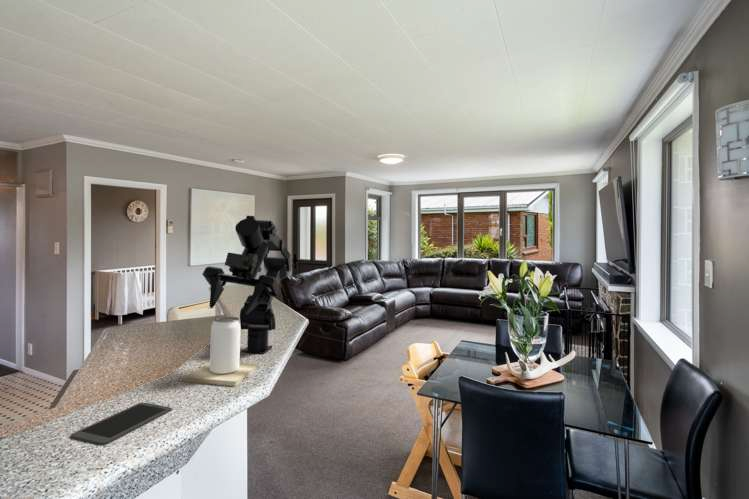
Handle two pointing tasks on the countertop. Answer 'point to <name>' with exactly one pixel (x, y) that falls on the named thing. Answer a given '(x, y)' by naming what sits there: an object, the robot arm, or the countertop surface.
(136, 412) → the cell phone
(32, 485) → the countertop surface
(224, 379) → the coaster
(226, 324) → the can
